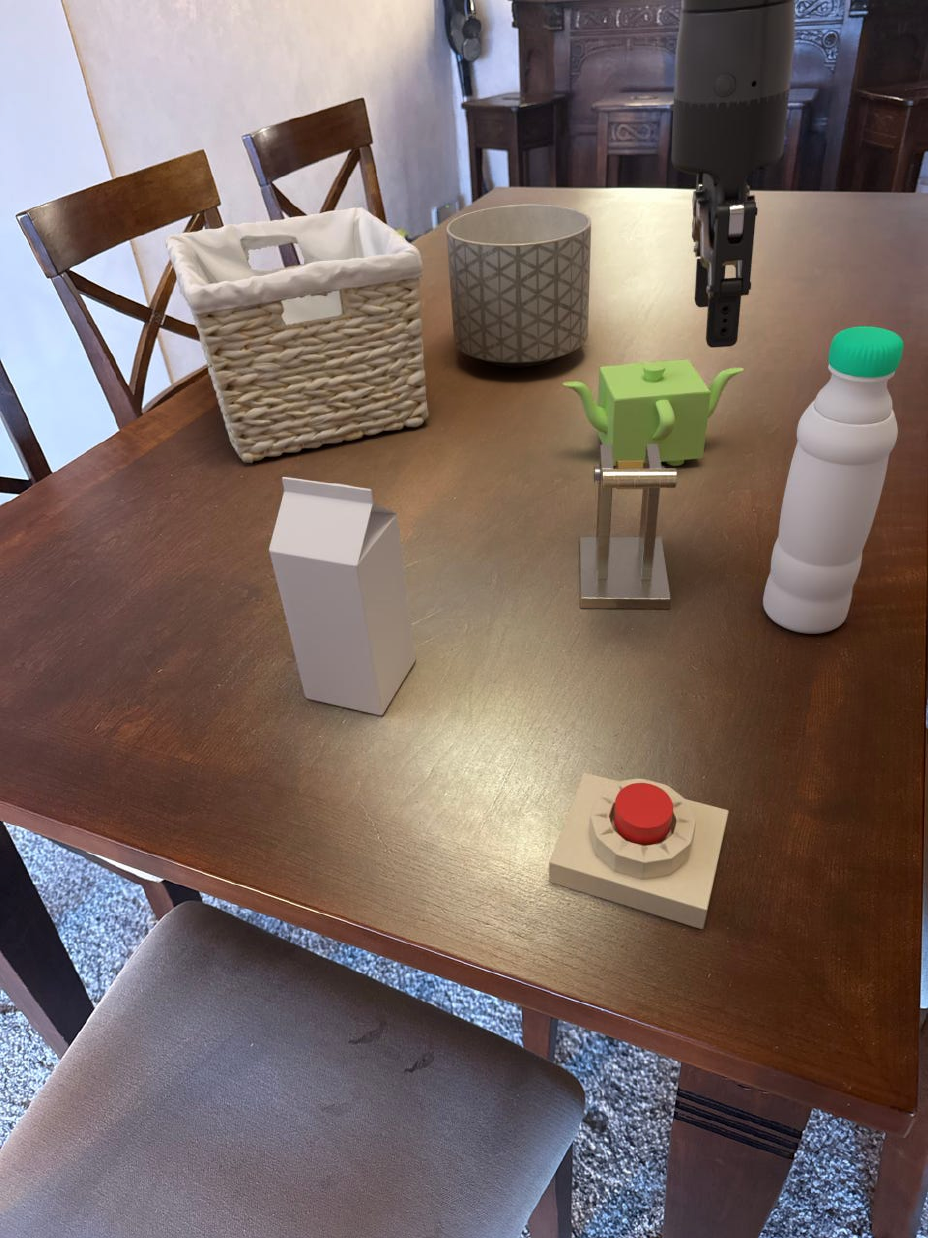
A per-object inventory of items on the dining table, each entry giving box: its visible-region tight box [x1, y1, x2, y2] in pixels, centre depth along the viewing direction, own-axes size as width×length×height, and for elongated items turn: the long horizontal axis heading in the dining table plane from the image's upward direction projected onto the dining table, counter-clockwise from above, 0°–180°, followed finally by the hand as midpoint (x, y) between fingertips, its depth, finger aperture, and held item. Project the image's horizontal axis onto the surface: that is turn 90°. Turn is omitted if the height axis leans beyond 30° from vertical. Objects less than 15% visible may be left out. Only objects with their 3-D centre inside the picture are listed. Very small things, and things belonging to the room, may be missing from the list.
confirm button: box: [614, 783, 673, 845], centre depth 55 cm, size 4×4×2 cm
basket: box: [165, 206, 430, 464], centre depth 109 cm, size 27×27×22 cm
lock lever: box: [602, 460, 678, 490], centre depth 71 cm, size 12×6×2 cm, turn 175°
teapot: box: [562, 359, 745, 467], centre depth 97 cm, size 15×13×11 cm
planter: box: [445, 203, 592, 369], centre depth 119 cm, size 19×19×18 cm
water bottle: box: [762, 325, 904, 635], centre depth 69 cm, size 7×7×25 cm
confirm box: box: [548, 772, 730, 930], centre depth 57 cm, size 10×8×4 cm
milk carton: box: [268, 476, 417, 716], centre depth 67 cm, size 7×7×19 cm
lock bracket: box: [578, 444, 672, 610], centre depth 78 cm, size 10×8×13 cm
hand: (714, 324), depth 68 cm, fingers open, 8 cm apart
